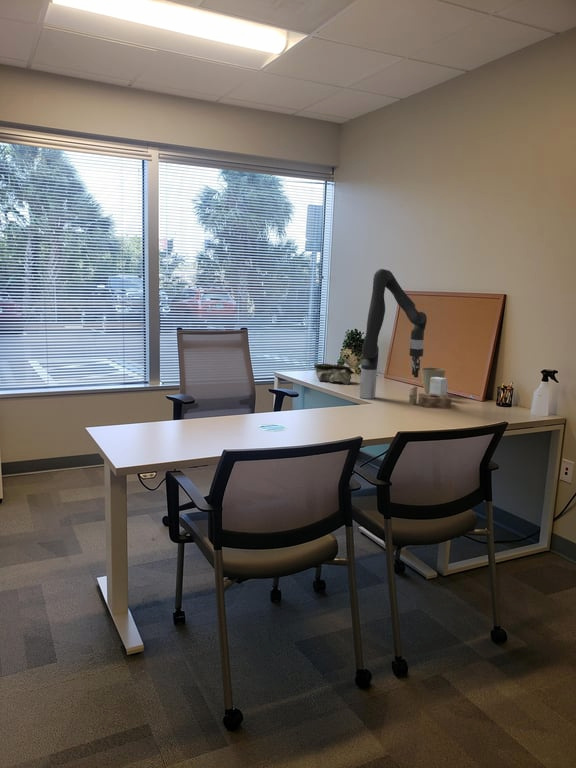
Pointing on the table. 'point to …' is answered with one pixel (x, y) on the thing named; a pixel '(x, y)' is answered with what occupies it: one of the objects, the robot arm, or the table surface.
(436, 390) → the small box
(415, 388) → the beech peg
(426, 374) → the plant pot
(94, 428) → the table surface
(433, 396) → the walnut board
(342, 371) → the mossy rock
